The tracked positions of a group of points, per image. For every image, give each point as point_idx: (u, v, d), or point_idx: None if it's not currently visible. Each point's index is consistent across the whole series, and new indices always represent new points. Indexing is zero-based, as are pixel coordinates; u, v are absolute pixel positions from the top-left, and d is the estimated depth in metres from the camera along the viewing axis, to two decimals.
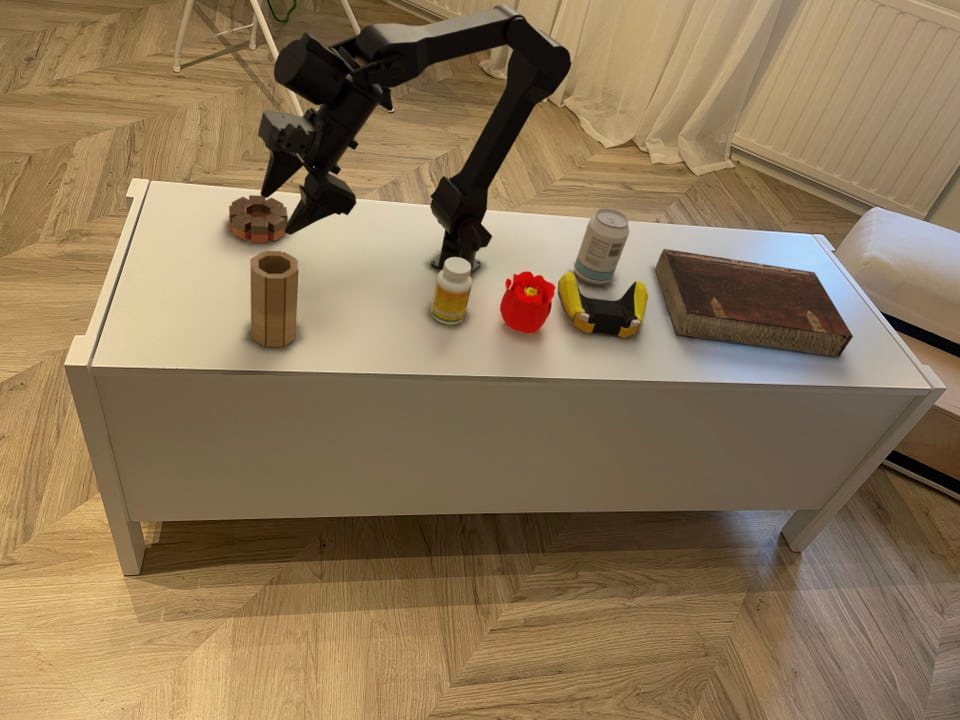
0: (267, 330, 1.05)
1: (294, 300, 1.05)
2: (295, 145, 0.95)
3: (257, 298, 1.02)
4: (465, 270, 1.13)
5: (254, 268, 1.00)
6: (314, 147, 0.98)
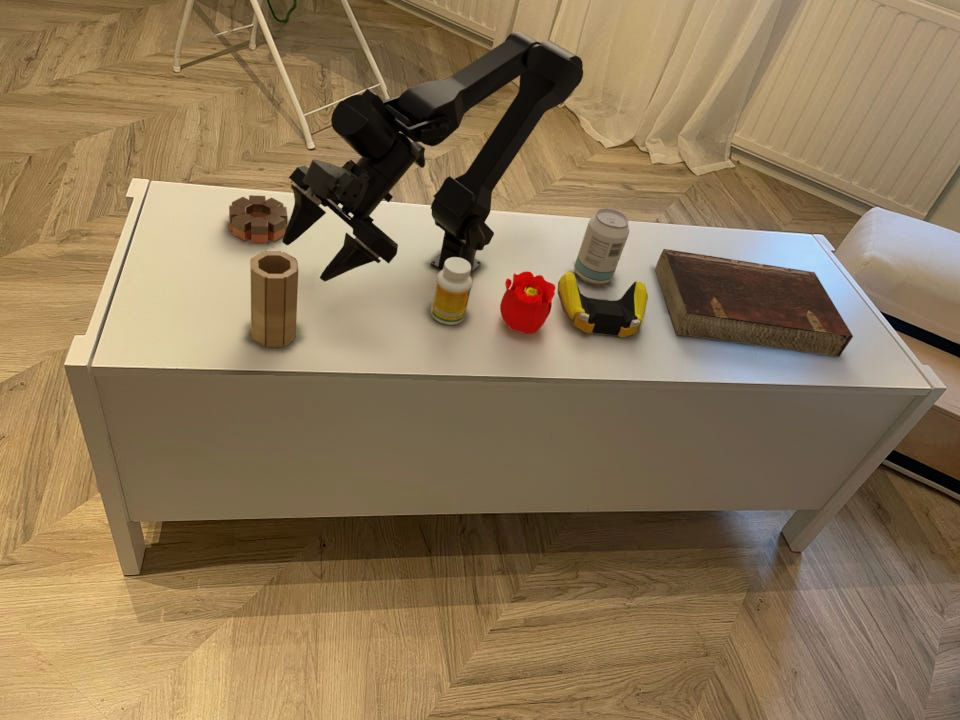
0: (267, 330, 1.05)
1: (294, 300, 1.05)
2: (349, 194, 0.97)
3: (257, 298, 1.02)
4: (465, 270, 1.13)
5: (254, 268, 1.00)
6: (359, 197, 1.01)
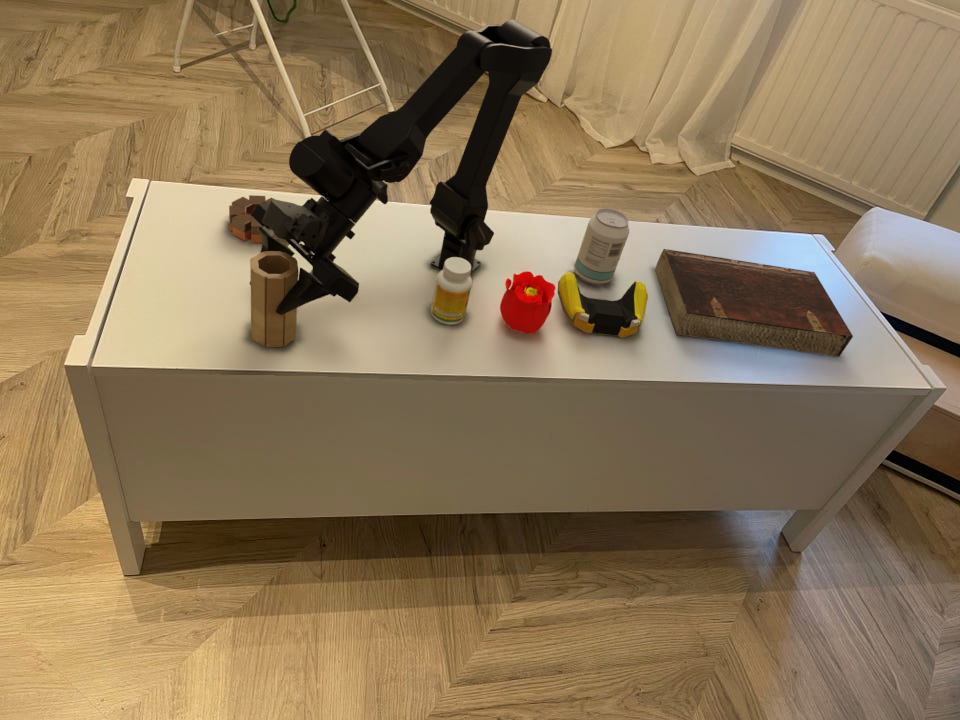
0: (267, 330, 1.05)
1: None
2: (308, 235, 0.97)
3: (257, 298, 1.02)
4: (465, 270, 1.13)
5: (254, 268, 1.00)
6: (319, 237, 1.00)
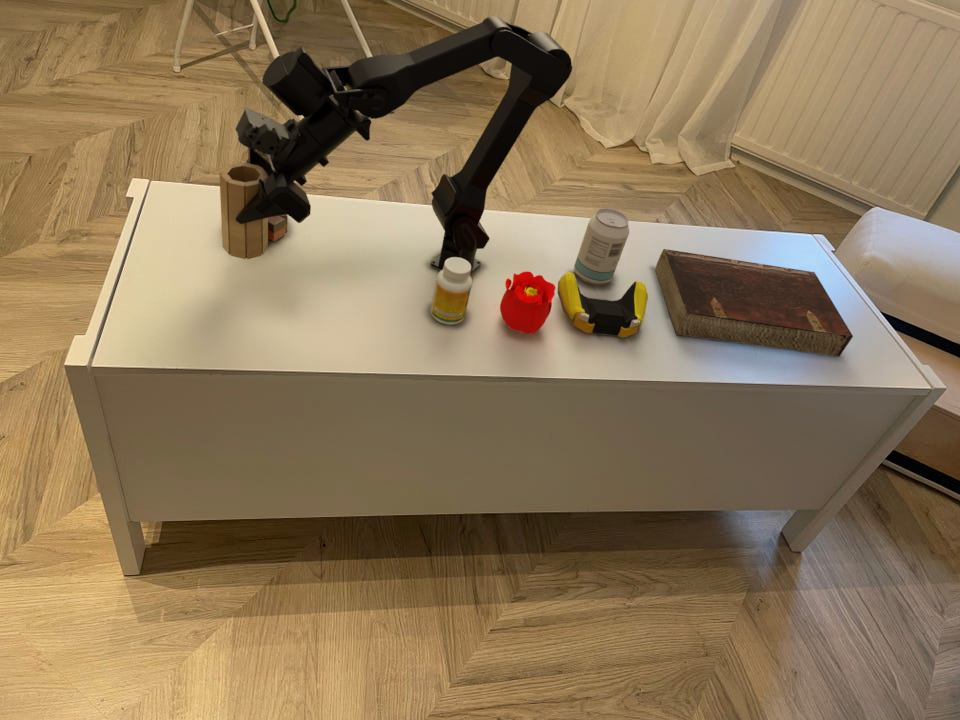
0: (230, 238, 1.09)
1: None
2: (265, 145, 0.99)
3: (223, 203, 1.07)
4: (465, 270, 1.13)
5: (223, 173, 1.05)
6: (284, 153, 1.02)
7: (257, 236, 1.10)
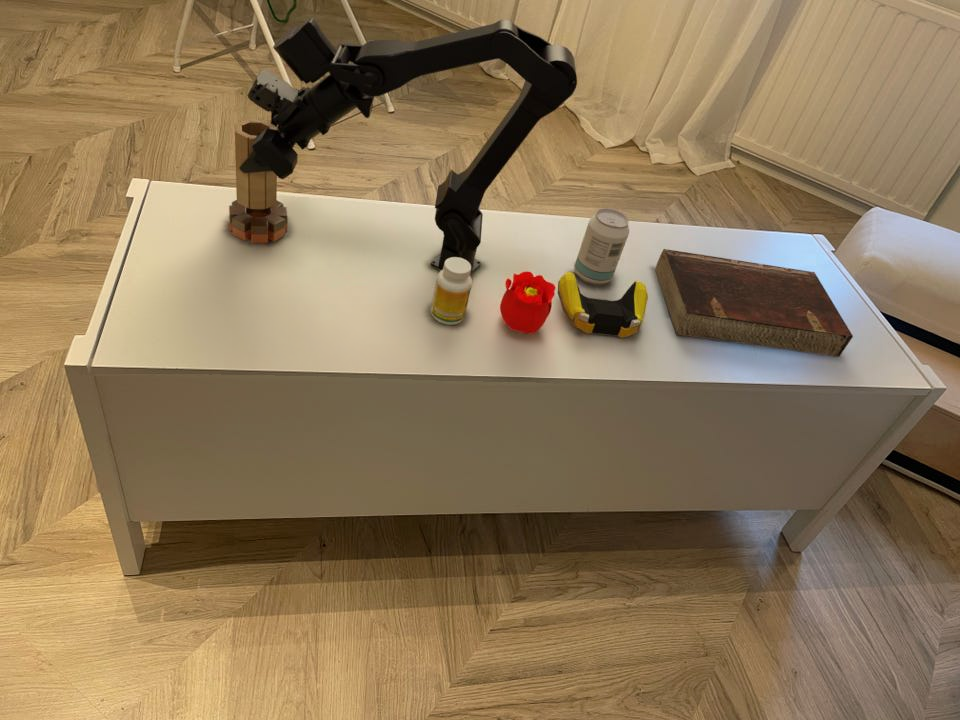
0: (238, 186, 1.19)
1: None
2: (263, 101, 1.08)
3: (235, 152, 1.17)
4: (465, 270, 1.13)
5: (238, 124, 1.15)
6: (285, 114, 1.10)
7: (260, 189, 1.19)
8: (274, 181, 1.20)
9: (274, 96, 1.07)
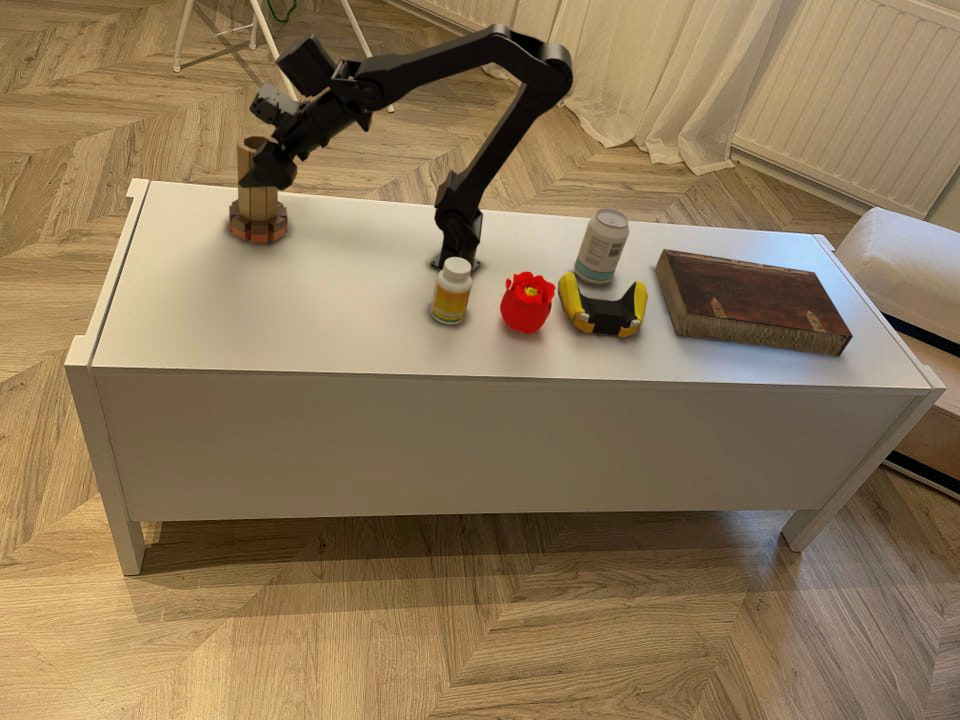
0: (239, 198, 1.22)
1: None
2: (264, 114, 1.10)
3: None
4: (465, 270, 1.13)
5: (240, 138, 1.18)
6: (285, 127, 1.12)
7: (261, 201, 1.21)
8: (275, 194, 1.22)
9: (275, 110, 1.09)
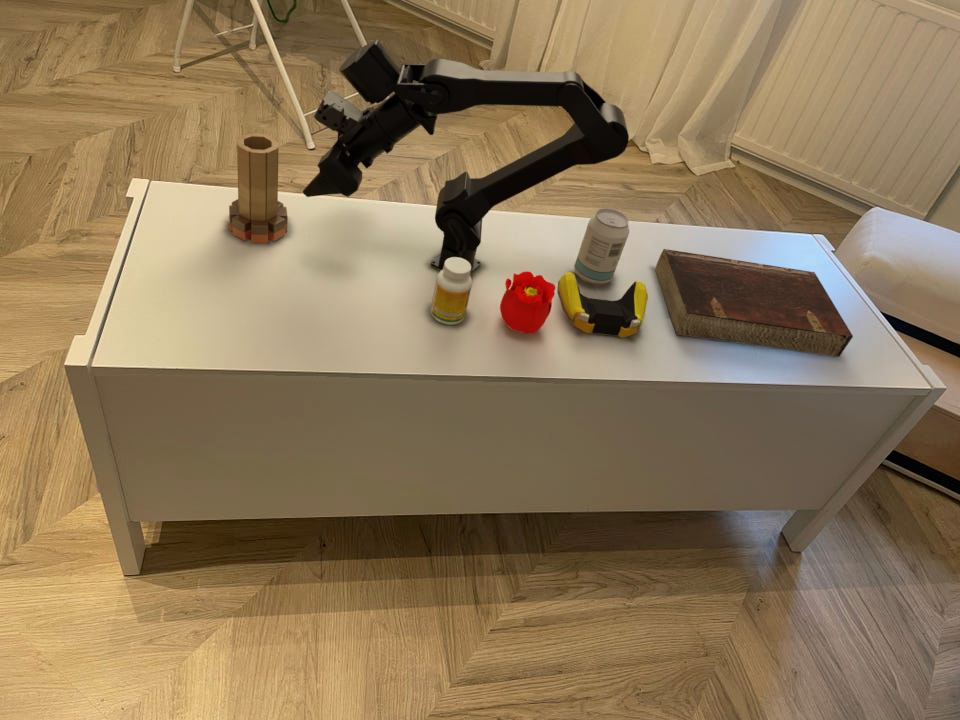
0: (239, 198, 1.22)
1: (262, 181, 1.19)
2: (330, 121, 1.10)
3: None
4: (465, 270, 1.13)
5: (240, 138, 1.18)
6: (350, 133, 1.12)
7: (261, 201, 1.21)
8: (275, 194, 1.22)
9: (340, 115, 1.09)
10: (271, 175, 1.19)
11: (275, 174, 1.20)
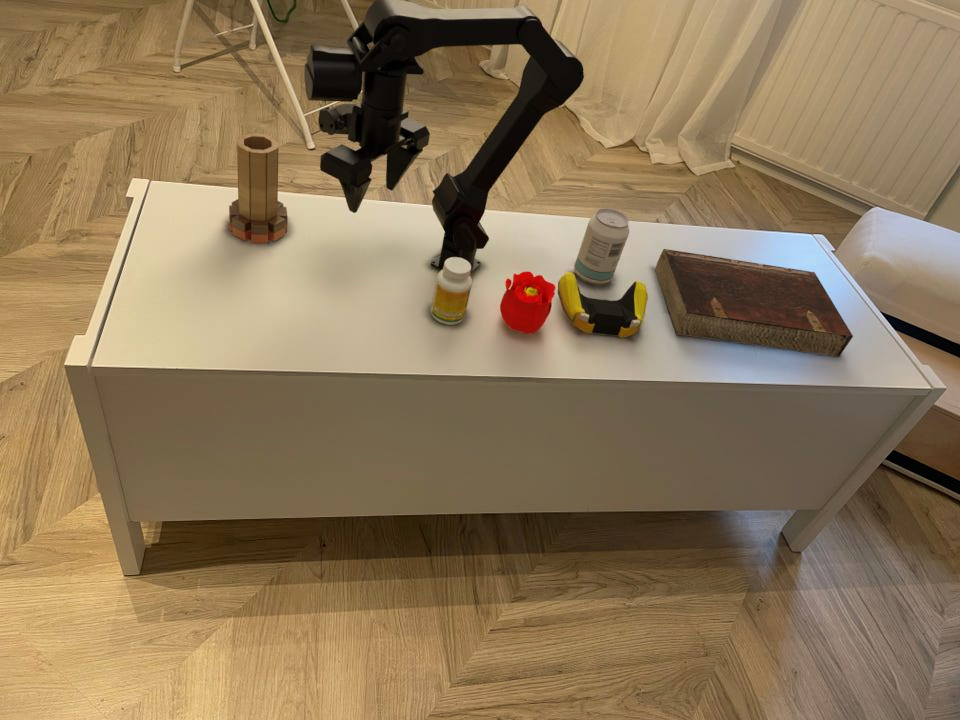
0: (239, 198, 1.22)
1: (262, 181, 1.19)
2: (326, 125, 1.07)
3: None
4: (465, 270, 1.13)
5: (240, 138, 1.18)
6: (351, 127, 1.07)
7: (261, 201, 1.21)
8: (275, 194, 1.22)
9: (329, 114, 1.06)
10: (271, 175, 1.19)
11: (275, 174, 1.20)
